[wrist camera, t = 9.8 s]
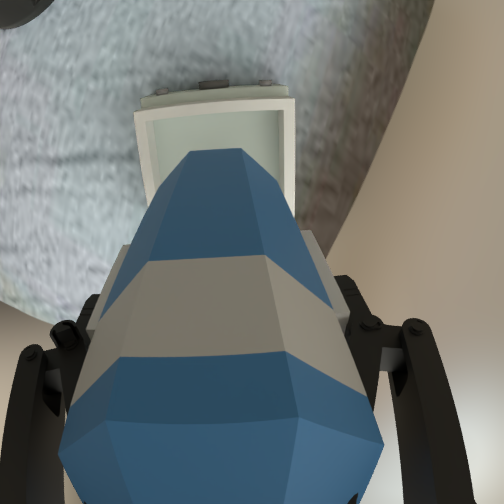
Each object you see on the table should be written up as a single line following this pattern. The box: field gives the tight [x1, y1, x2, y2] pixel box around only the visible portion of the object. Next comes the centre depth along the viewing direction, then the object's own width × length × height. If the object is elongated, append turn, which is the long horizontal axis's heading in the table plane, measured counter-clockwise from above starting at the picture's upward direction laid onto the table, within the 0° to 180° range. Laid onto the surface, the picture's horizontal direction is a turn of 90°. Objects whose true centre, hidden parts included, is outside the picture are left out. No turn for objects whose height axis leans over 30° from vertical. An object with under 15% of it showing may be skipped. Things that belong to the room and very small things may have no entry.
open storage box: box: [133, 80, 295, 217], centre depth 32 cm, size 17×14×8 cm
